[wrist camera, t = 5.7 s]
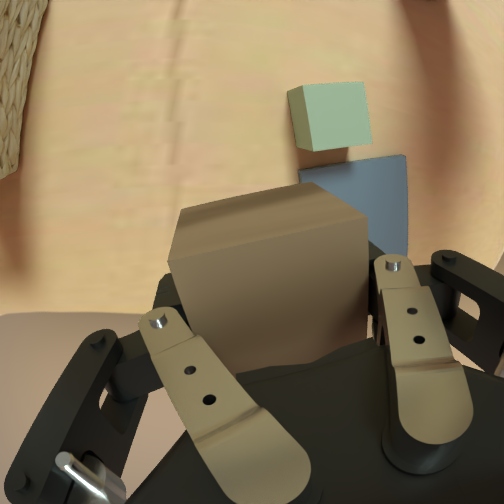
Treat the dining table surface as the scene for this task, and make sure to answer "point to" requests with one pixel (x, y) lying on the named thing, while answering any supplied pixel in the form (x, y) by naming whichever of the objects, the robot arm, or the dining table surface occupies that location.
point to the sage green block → (330, 115)
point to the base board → (371, 196)
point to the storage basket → (15, 72)
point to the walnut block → (273, 275)
